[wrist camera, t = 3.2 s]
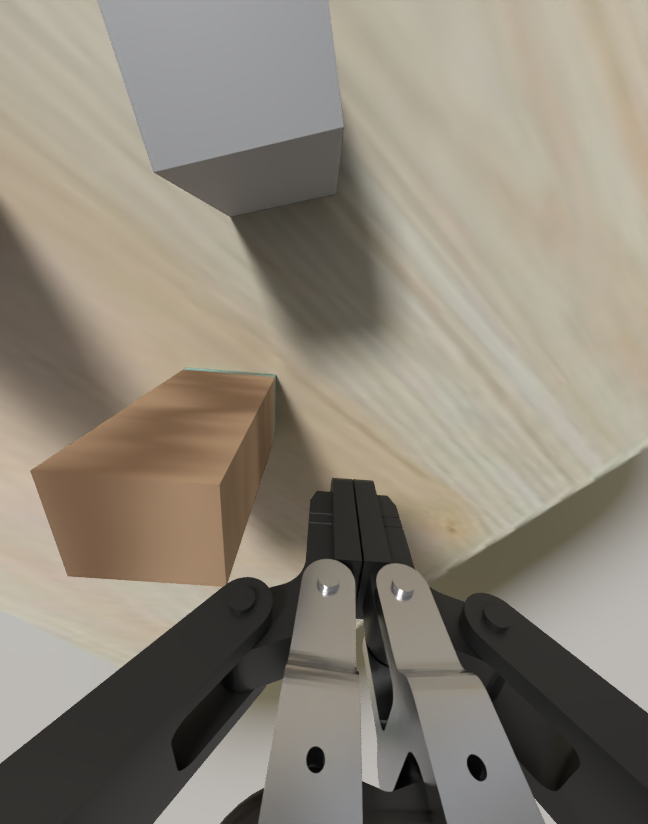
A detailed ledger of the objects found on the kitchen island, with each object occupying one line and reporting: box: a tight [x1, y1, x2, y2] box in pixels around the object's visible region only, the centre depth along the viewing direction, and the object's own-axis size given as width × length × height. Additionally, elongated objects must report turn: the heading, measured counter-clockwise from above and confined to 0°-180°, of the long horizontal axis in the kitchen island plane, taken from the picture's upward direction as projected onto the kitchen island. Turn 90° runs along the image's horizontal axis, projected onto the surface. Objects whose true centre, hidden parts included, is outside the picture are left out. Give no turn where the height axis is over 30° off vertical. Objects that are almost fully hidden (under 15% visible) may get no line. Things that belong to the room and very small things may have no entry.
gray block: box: [97, 0, 344, 217], centre depth 10 cm, size 5×5×7 cm
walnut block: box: [31, 368, 276, 587], centre depth 14 cm, size 5×4×10 cm
